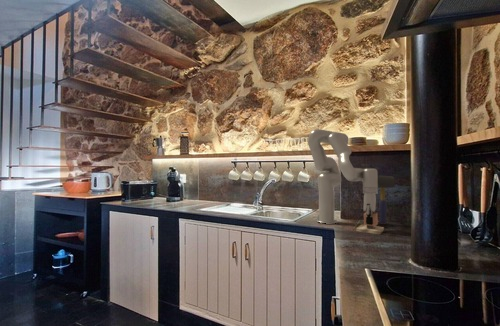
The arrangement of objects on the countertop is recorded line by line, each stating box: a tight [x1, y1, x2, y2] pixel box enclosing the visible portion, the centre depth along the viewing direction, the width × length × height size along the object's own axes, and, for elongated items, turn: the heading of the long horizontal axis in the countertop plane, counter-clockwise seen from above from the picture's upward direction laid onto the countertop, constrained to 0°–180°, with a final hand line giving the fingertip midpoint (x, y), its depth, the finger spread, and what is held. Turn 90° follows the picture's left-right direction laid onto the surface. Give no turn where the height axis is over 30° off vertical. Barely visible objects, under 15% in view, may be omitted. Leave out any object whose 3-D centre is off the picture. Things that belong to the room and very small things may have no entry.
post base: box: [355, 224, 385, 235], centre depth 144 cm, size 12×12×6 cm
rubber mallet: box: [377, 175, 396, 225], centre depth 161 cm, size 12×8×30 cm, turn 70°
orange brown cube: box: [363, 212, 379, 226], centre depth 144 cm, size 6×6×6 cm
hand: (370, 223), depth 144 cm, fingers closed on orange brown cube, 6 cm apart
